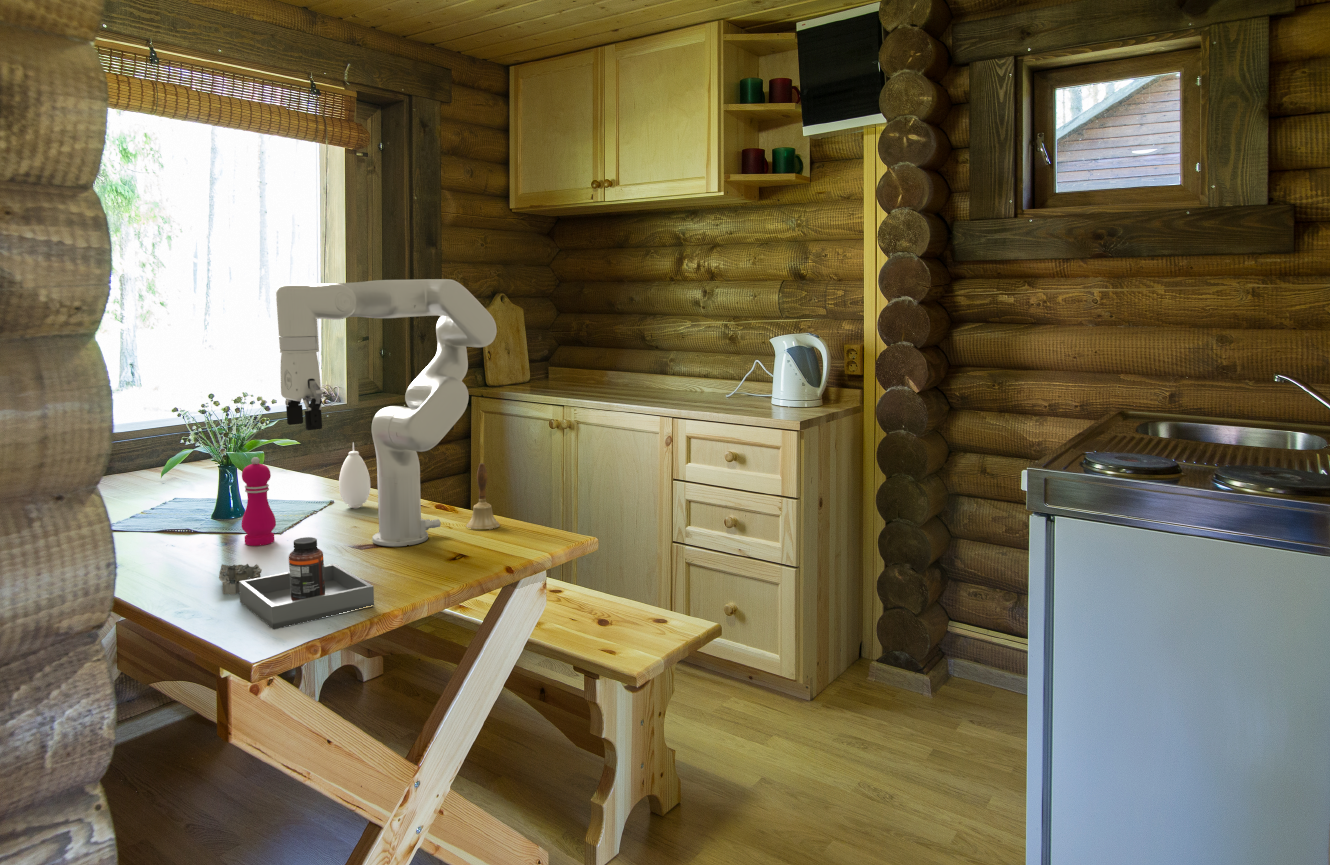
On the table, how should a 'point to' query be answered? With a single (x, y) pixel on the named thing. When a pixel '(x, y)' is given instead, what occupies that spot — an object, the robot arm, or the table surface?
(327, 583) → the tray
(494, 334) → the robot arm
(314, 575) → the supplement bottle
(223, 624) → the table surface
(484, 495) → the hand bell
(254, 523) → the pepper mill
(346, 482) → the air blower bulb
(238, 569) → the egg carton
